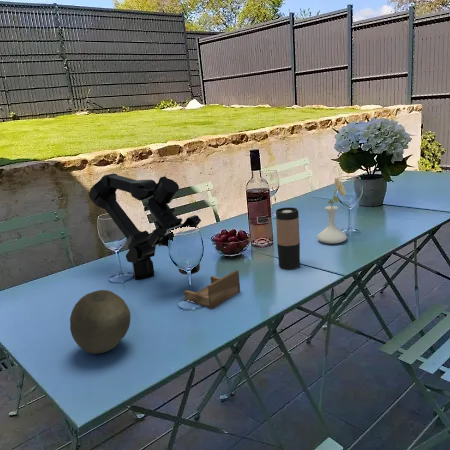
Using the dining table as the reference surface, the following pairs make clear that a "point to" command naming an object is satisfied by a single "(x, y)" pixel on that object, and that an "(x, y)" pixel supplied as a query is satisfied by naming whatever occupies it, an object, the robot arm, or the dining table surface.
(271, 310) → the dining table surface
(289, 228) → the travel mug
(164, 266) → the dining table surface
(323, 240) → the flower in vase
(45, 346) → the dining table surface
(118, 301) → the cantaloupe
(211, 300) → the holder
